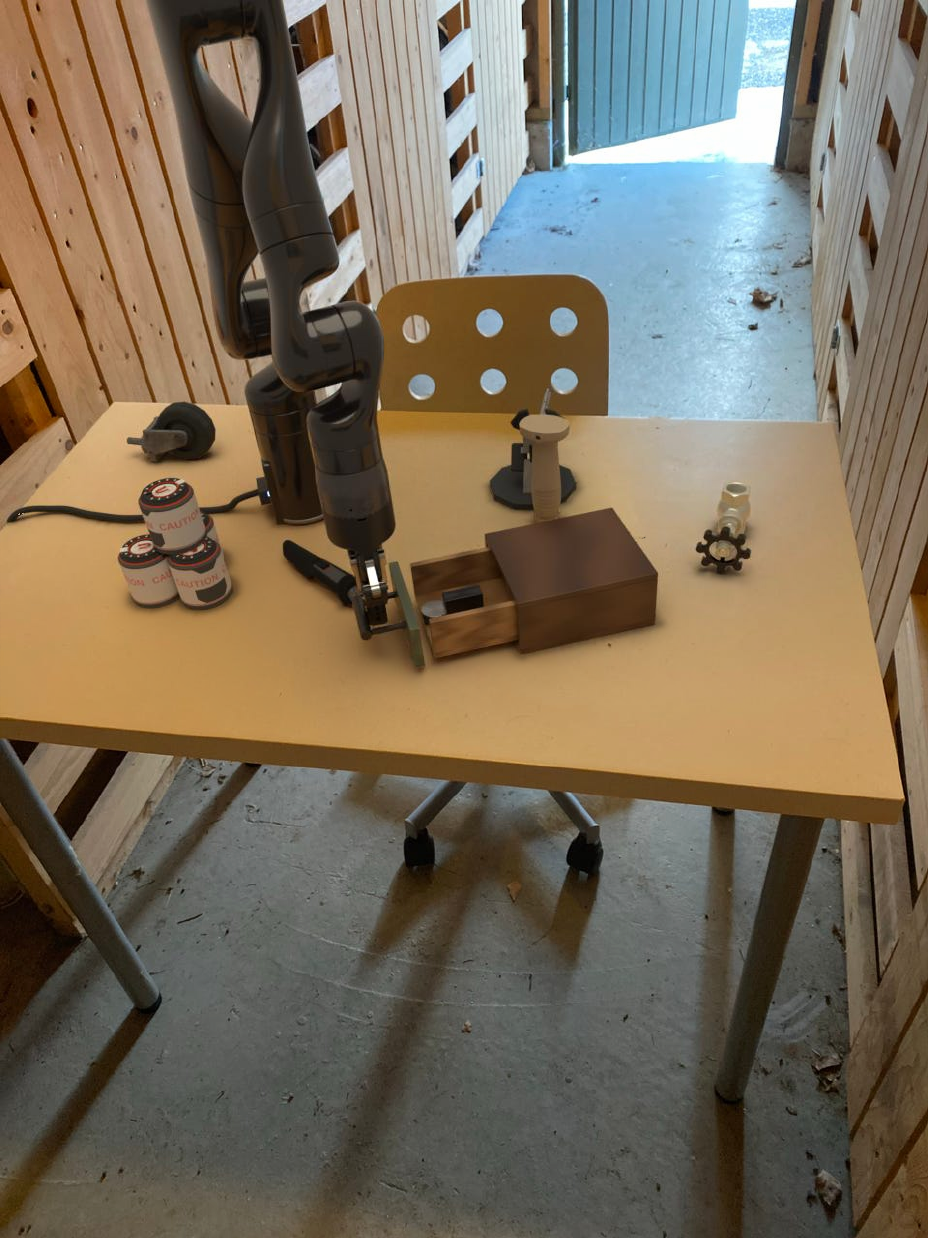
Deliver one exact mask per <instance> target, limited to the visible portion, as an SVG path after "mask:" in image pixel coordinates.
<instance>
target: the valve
mask: <svg viewBox="0 0 928 1238" xmlns="http://www.w3.org/2000/svg"><path fill="white" fill-rule="evenodd" d="M750 494H751V486H750V485H749V484H747V483H745V482H742V481H739V480H735V481H734V480H733V481H728V482H725V483H724V484H723V486H722V491H721V498H720V500H719V502H718V504H717V508H716V512H717V518H718V522H717V533H718V534H713V533H714V532H713V530H712V529H706V530H705V531H704V533H703V537H702V538H703V540H704V541H706V542H705V544H703V541H698V542H697V543H696V544H695V545H696V546H695V552H696V553H697V554H704V555H703V556H702V557H701V560H700V564H701V566H702V567H706V568H707V567H710V565H711V564H712V565H714V566H716V568H715V572H716V573H717V574H718V575H723V574H724V573H726V569H727V567H731V568H732V570H733V571H734V572H740V571H741V570H742V569H743V565H744V563H743V561H740V559H743V560H749V559H750V558H751V556H752V550H751V549H750V548H749V547H746V549H743V548H742V546H744V545H745V544H746V541H747V536H746V535H745V530H746V525H747V520H748V519H749V517H750V515H751V510H752V509H751V503H750V501H749V500H750ZM714 543H716V544H715V554H716V555H717V556H719V557H720V558H719V559H718V558H716V557H715V556H713V554H712V553H711V550H710V547H711V546H712V545H713V544H714ZM733 548H735V550H736V554H735V556H734V557H732V558H731V559H727V560H726V557H728V556H730V554H731V552H732V550H733Z"/></svg>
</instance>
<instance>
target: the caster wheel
mask: <svg viewBox="0 0 928 1238" xmlns="http://www.w3.org/2000/svg"><path fill="white" fill-rule="evenodd" d="M216 432H217V431H216V427H215V424H214V422H213V419H212V418H211V417H210V415H209V414H208V413H207V412H206V411H205V410H204V409H203V408H201V407H199V406H198V405H196V404H195V403H190V402H187V401H178V402H172V403H170V404H169V405H167V406H166V407H165V408H163V410H162V411H161V412H160V413H159V415H158V416H157V415H156V416H154V417H153V420H152V421H151V422H150V424H148V426H147V427H146V428H145V429H143V430H142V436H141V437H131V436H128V437H127V438H126V444H127V445H134V446H141V447H140V448H141V450H142V452H143V453H144V454H146V455H147V457H149V459H150V461H151V462H157V463H158V462H159V461H160V460H161V458H162V457H163V456H164V455H165V453H167V452H169V453H170V454H172V455H173V456H175V457H177V458H181V459H184V460H196V459H200V458H202V457H203V456H205V455H206V454H207V453H208V452H209V450H210V449H211V448H212V446H213V445H214V443H215V441H216Z"/></svg>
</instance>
